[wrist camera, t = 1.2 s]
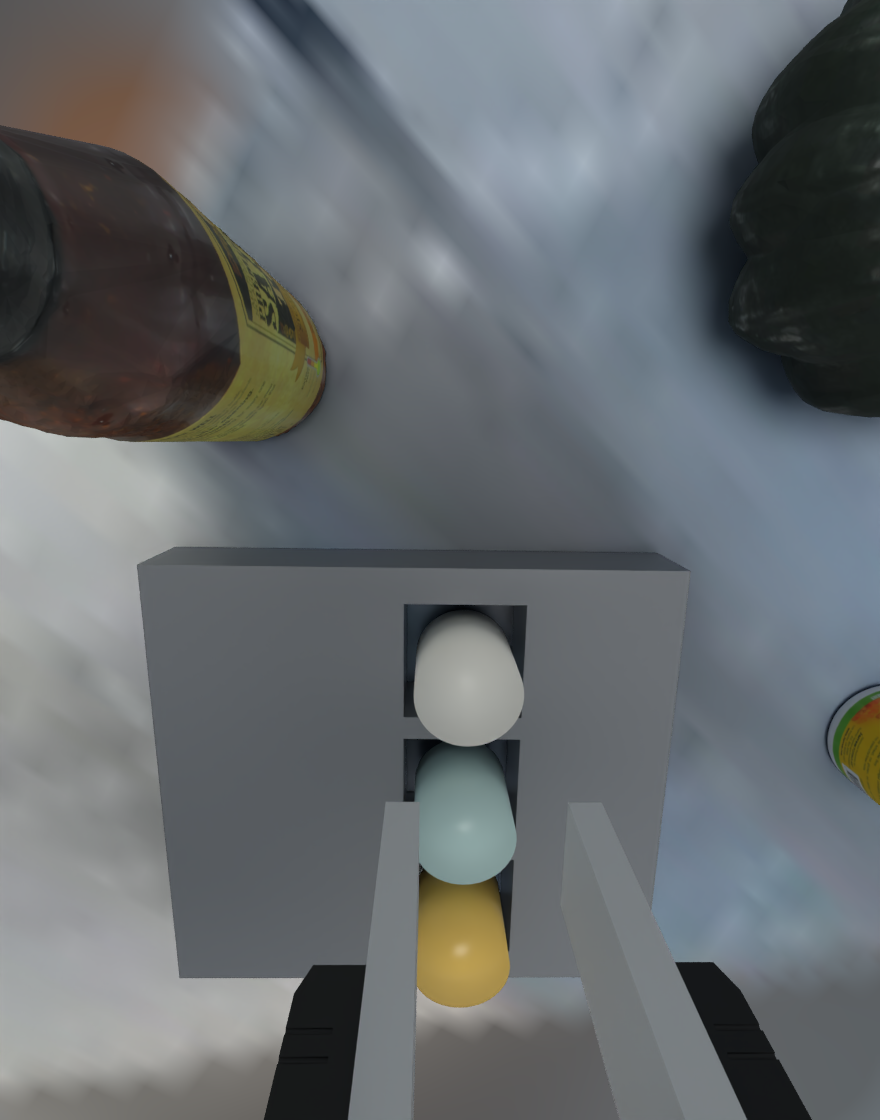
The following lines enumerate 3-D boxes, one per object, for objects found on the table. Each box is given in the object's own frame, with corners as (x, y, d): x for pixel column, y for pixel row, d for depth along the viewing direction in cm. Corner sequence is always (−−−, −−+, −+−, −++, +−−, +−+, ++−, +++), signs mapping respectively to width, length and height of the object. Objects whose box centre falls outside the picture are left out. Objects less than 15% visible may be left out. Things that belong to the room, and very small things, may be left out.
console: (207, 916, 31) (179, 978, 27) (175, 546, 26) (137, 564, 23) (619, 916, 31) (643, 977, 28) (657, 553, 27) (690, 571, 23)
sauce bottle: (359, 345, 24) (85, 22, 5) (283, 468, 25) (-188, 597, 6) (223, 248, 23) (-761, -608, 4) (150, 381, 25) (-902, 203, 5)
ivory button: (415, 696, 25) (413, 746, 21) (416, 609, 24) (413, 643, 20) (507, 697, 25) (521, 746, 21) (511, 610, 24) (526, 644, 20)
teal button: (414, 817, 26) (412, 884, 23) (415, 738, 26) (412, 794, 22) (502, 817, 27) (514, 884, 23) (505, 739, 26) (519, 794, 22)
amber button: (414, 926, 28) (411, 1007, 24) (414, 855, 27) (411, 927, 23) (497, 926, 28) (507, 1007, 24) (500, 855, 27) (512, 927, 23)
